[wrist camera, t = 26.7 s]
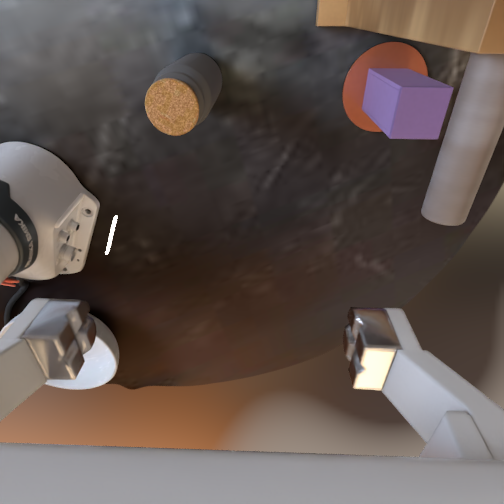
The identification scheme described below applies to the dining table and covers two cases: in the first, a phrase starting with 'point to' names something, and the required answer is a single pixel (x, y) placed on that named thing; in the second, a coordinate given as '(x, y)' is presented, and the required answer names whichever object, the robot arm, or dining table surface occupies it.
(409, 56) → the coaster
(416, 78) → the purple block
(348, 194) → the dining table surface
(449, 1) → the cup stand
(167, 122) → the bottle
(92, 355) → the serving bowl
